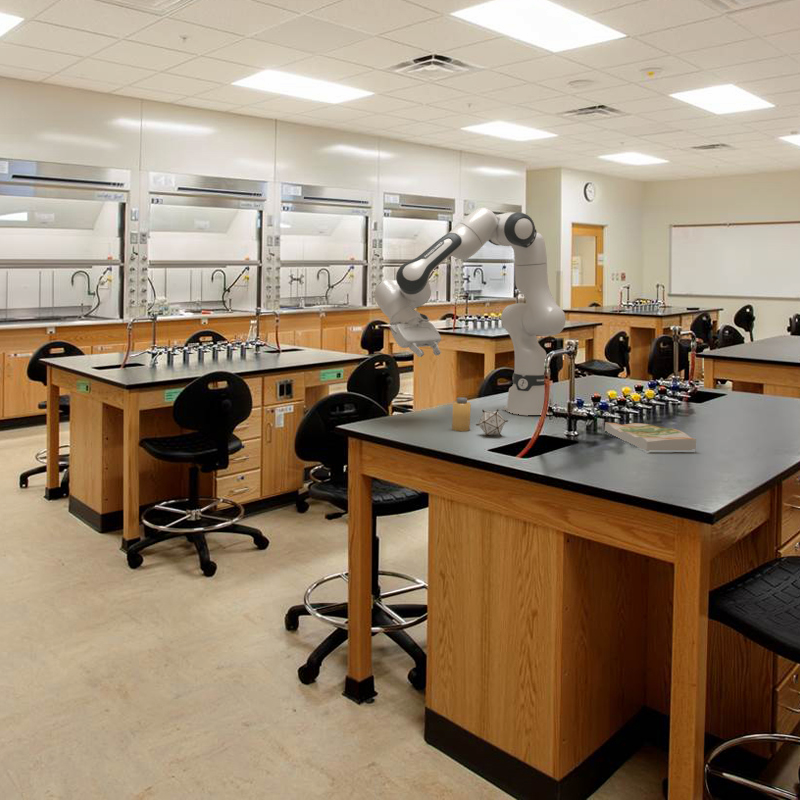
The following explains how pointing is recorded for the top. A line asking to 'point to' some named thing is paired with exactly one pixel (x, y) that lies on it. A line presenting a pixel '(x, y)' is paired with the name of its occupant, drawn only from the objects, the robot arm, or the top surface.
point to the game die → (491, 422)
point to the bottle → (461, 415)
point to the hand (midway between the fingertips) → (430, 354)
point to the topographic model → (651, 436)
